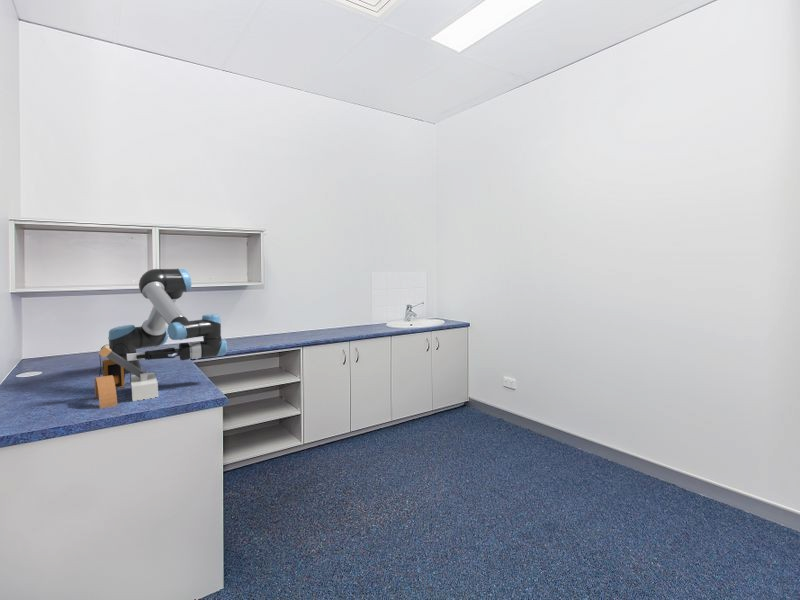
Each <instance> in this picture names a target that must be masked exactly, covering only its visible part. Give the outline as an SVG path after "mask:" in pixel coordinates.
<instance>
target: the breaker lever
mask: <svg viewBox="0 0 800 600" xmlns="http://www.w3.org/2000/svg"><path fill="white" fill-rule="evenodd" d="M103 346H104V345H103ZM103 346H102V347H103ZM102 347H101V348H102ZM101 348H100V349H99V351H98V352H97V354H100V356H102V357H103V358H106V359H107V360H109V359H110V360H112V361H113V362H115V363H116V364H118V365H120V366H121V367H123V368H125V369H126V370H128V371H129V372H131V374H132V375H136V376H137V377H139V378H140V374H142V373H145V372H144V371H143V370H142V368H141V369H139V368H138V367H136V366H135V365H133V364H132V363H130V362H128V361H127V360H125V359H124V358H122V357H121V356H119V355H117V354H116V353H114V352H113V351H112V350H111V349H110V348H109V346H108V345H106V346H104V347H103V348H102V349H101Z"/></svg>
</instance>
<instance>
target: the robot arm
mask: <svg viewBox="0 0 800 600" xmlns="http://www.w3.org/2000/svg"><path fill="white" fill-rule="evenodd" d="M138 289H139V291H140V293H141V295H142V296H143V297H144V298H145V299H148V300H149V302H150V303H151V304H152V309H151V311H150V313H149V315H148V319H145V320H144V321H143V322H142V324H141V326H135V325H134V324H126V325H125V324H124V325H121V326H115V327H113V328H111V329H110V330H109V331H108V338H107V339H108V348H110V346H111V350H112V351H113V347H114V346H115V345H116V344H118V345H116V346H115V347H114V353H116V354H117V355H119V356H121V357H122V358H124V359H125V360H127V361H128V362H130V361H131V363H132V364H133V365H135V366H136V367H138V368H139V369H141V370H142V364H141V362H140V361H141V360H145V361H146V360H162V359H175V358H176V357H179V360H180V361H187V360H190V359H191V360H193V359H195V360H199V359H203V358H214V357H215V358H216V357H221V356H225V355H226V354H227V352H228V342H227V340H226V339H225V338H222V329H221V328H222V327H221V325H222V323H221V317H220V315H219V314H217V313H214V314H213V313H208V314H207V313H206V314H203V315H202V316H201V319H196V320H189V319H188V318H187V317H186V316H185V314H184V313H183V312H182V310H181V309H180V308H179V306H178V305H177V304H176V302H177V300H179V299H180V298H181V297H182V296H183V293H184V292H185V293H187V292H190V291H191V289H192V278H191V275H190V273H189V271H188V270H187V269H184V268H152V269H150V270H147V271H146V272H144V273H143V274H142V275H141V276H140V278H139V281H138ZM166 324H167V326H166ZM201 337H203V338H202V339H203V341H202V340H201V341H192V342H191V341H190V342H181V343H178V348H176V347H168V348H159V349H153V350H146V351H143V352H137V349H138V350H139V349H145V348H146V349H147V348H153V347H155V348H156V347H159V346H163V345H164V344H166V343H167V341H168V338H169V339H171V340H172V341H178V340H179V341H181V340H186V339H187V340H188V339H195V338H201ZM119 343H123V344H119ZM124 344H125V345H126V346H127V347H126V346H125V345H124ZM109 345H110V346H109ZM127 348H128V349H127ZM128 350H129V352H128ZM129 353H130V354H129ZM125 374H130V372H129V371H128V370H126V369H125Z"/></svg>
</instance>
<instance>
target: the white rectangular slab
mask: <svg viewBox="0 0 800 600" xmlns="http://www.w3.org/2000/svg"><path fill="white" fill-rule="evenodd" d="M143 371H144V372H145V373H142V374H140V378H139V377H137V376H136V375H134V374H131V384H130V386H131V399H132V402H138V401H137V400H139V401H143V399H145V400H151V399H150V398H152V399H156V398H155V397H158V398H159V384H158V379H157V376H156V374H155V372H149V373H148V372H147V370H146V369H144V370H143Z"/></svg>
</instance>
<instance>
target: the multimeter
mask: <svg viewBox="0 0 800 600" xmlns="http://www.w3.org/2000/svg"><path fill="white" fill-rule="evenodd" d="M119 344H123V343H119ZM116 345H118V344H116ZM116 345H115V346H116ZM124 345H125V344H124ZM104 346H107V344H104V345H103V346H102V347H101V348H100V350H101V349H102V348H103V347H104ZM109 346H110V345H109V344H108V347H109ZM115 346H114V347H115ZM125 346H126V345H125ZM114 347H113V352H114ZM126 347H127V346H126ZM110 349H111V346H110ZM127 349H128V348H127ZM128 352H129V350H128ZM129 354H130V353H129ZM99 357H101V355H100V354H99ZM99 362H100V363H99V365H100V368H99V373H98V377H101V371H102V377H103V376H110V375H113V377H114V381H115V387H116V389H119V388H125V385H131V375H132V373H131V372H130V373H129V374H130V375H129V382H125V378H126V373H125V368H123V367H121V366H120V365H118V364H116V363H115V362H113V361H112V360H110V359H103V360H102V361H101V358H99ZM130 363H131V361H130Z"/></svg>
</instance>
